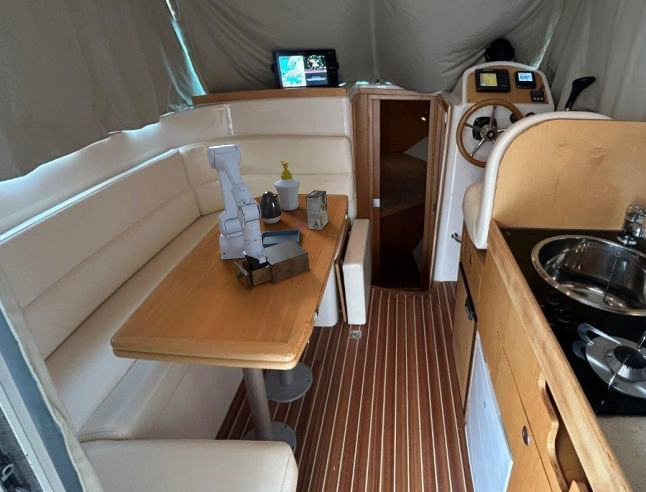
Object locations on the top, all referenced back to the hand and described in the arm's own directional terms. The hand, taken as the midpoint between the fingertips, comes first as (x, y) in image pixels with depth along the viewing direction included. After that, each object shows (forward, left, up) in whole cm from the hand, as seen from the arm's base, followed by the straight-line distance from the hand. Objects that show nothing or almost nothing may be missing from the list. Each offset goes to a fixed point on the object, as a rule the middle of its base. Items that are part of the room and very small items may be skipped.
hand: (257, 272), depth 125 cm
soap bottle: (+6, +66, -3) cm, 66 cm away
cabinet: (+9, +5, -3) cm, 10 cm away
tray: (+5, +29, -3) cm, 29 cm away
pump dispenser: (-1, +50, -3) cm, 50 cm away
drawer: (0, 0, -2) cm, 2 cm away
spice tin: (0, 0, -1) cm, 1 cm away
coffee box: (+21, +42, -3) cm, 47 cm away
